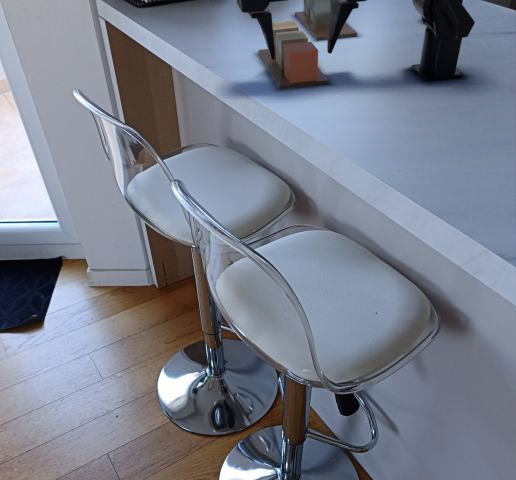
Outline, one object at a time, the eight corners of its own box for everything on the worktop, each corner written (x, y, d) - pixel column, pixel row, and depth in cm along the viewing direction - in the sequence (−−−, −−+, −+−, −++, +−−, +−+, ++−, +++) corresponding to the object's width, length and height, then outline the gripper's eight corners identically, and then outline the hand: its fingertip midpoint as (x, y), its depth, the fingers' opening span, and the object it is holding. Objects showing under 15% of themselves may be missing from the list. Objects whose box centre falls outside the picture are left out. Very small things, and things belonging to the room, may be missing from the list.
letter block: (317, 80, 85) (318, 49, 82) (289, 83, 85) (289, 52, 81) (310, 71, 88) (311, 41, 85) (283, 74, 88) (283, 44, 85)
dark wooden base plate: (357, 36, 103) (359, 5, 99) (316, 40, 102) (317, 9, 98) (330, 11, 116) (331, -17, 112) (294, 15, 115) (294, -13, 112)
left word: (328, 84, 85) (329, 49, 82) (279, 89, 85) (278, 54, 81) (301, 48, 99) (301, 17, 95) (258, 53, 98) (257, 21, 94)
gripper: (350, -81, 80) (343, 35, 91) (227, -71, 78) (235, 47, 89) (375, -71, 72) (364, 55, 83) (238, -59, 70) (245, 68, 81)
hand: (301, 55), depth 84 cm, fingers open, 9 cm apart
